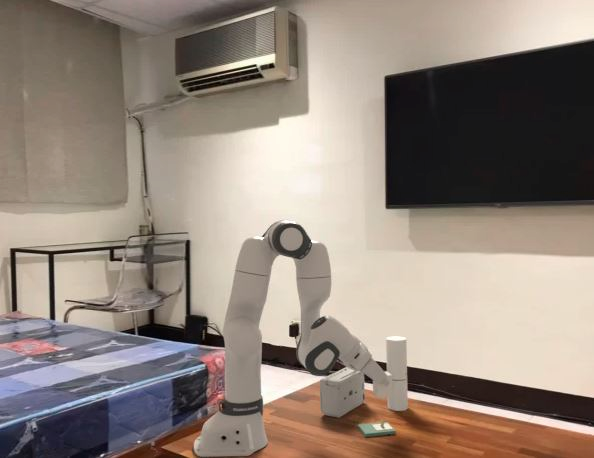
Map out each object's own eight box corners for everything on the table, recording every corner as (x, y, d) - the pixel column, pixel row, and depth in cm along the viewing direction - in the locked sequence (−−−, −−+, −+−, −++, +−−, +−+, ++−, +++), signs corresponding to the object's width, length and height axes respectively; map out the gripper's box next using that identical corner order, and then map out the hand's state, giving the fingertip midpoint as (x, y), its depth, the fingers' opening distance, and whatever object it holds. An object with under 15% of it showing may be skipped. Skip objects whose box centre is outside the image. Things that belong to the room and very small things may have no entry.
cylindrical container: (410, 406, 198) (409, 337, 198) (403, 412, 192) (401, 341, 192) (392, 403, 202) (390, 335, 202) (384, 408, 196) (382, 339, 196)
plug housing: (377, 398, 173) (377, 373, 173) (373, 394, 178) (372, 369, 178) (392, 396, 174) (392, 372, 174) (387, 392, 179) (387, 368, 179)
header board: (365, 436, 171) (365, 426, 171) (357, 427, 179) (357, 417, 179) (395, 433, 173) (395, 423, 173) (387, 424, 181) (386, 414, 181)
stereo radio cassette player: (348, 399, 208) (347, 346, 208) (368, 402, 203) (366, 349, 203) (319, 416, 191) (318, 358, 190) (339, 420, 186) (338, 361, 186)
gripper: (339, 353, 184) (367, 380, 186) (356, 369, 164) (388, 399, 166) (351, 339, 185) (379, 366, 187) (370, 353, 165) (402, 383, 167)
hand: (384, 381), depth 176 cm, fingers closed on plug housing, 5 cm apart
